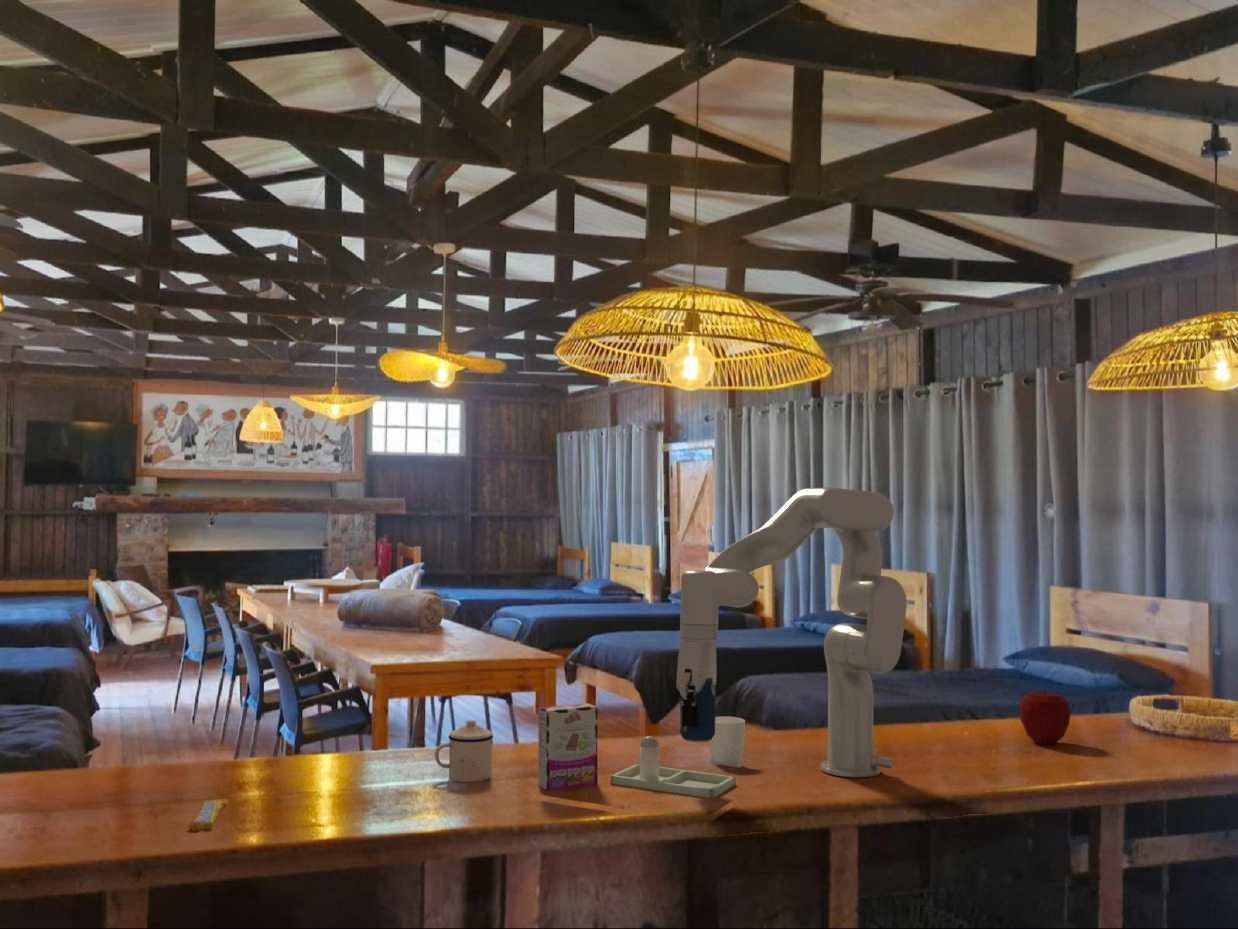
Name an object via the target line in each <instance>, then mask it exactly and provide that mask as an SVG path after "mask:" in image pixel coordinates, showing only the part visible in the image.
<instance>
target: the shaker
mask: <svg viewBox="0 0 1238 929" xmlns="http://www.w3.org/2000/svg"><path fill="white" fill-rule="evenodd" d="M638 755H639V757H638V759H639V761H638V762H639V763H638V764H639V779H645V780H652V781H659V767H660V745H659V741H658V740H657V738H656V737H654V736H652V735H646V736H644V737H643V738H642V739H641V740H640V742H639V754H638Z"/></svg>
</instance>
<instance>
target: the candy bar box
mask: <svg viewBox="0 0 1238 929" xmlns="http://www.w3.org/2000/svg"><path fill="white" fill-rule="evenodd" d="M537 758H538V766H537V767H538V773H537V774H538V786H539V787H540V788H543V789H544V790H546V791H552V790H553V791H554V790H555V791H556V790H563V789H564V790H565V789H572V788H580V787H589V786H596V785H597V786H598V706H597V705H593V704H592V703H589V702H585V703H574V704H564V705H563V704H562V705H553V706H544V707H543V706H542V707H538V757H537Z"/></svg>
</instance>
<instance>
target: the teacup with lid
mask: <svg viewBox="0 0 1238 929" xmlns="http://www.w3.org/2000/svg"><path fill="white" fill-rule="evenodd" d="M493 738H494V735H493V733H492V731H491V730H489V729H486V728H483V727H482V726H480V725H477V721H476V720H474V719H469V720H467V721H466V722H465V725H462V726H460V727H458V728H457V729H455V730H454V729H453V730H452V731H450V732H449V734H448V740H449V742H448V743H441V744H439V745H438V746H437V747H436V748H435V750H434V759H435V762H436V764H437V765H438V766H439V767H441V768H442V769H448V778H449V779H450V780H451V781H454V782H459V783H479V782H485V781H487V780H489V779H491V777H492V753H493V752H492V750H493V749H492V748H493V746H492V744H493V743H492V742H493ZM445 748H449V751H448V752H449V753H448V754H449V757H448V758H449V764H447V763H443V762H442V761H441V760H440V756H439V753H440V751H441V750H443V749H445Z"/></svg>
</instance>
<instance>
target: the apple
mask: <svg viewBox="0 0 1238 929" xmlns="http://www.w3.org/2000/svg"><path fill="white" fill-rule="evenodd" d="M1071 713H1072V709H1071V705H1070V703H1069V701H1068V700H1067V699H1066V698H1065V697H1064V696H1063V695H1061V694H1057V693H1054V692H1049V691H1046V688H1044V689H1043V691H1031V692H1028V693H1027V694H1025V695H1024V696H1023V697H1022V700H1021V702H1020V704H1019V714H1020V722H1021V723H1022V726H1023V728H1024V731H1025V733H1026V735H1027V736H1028V737H1029V738H1030V739H1031V740H1032V741H1033V742H1034V743H1035V744H1036V745H1041V746H1049V745H1055V744H1056V743H1057V742H1059V741H1060V740H1061V739H1063V738H1064V737H1065V734H1066V732H1067V729H1068V728H1069V724H1070V720H1071Z"/></svg>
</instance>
